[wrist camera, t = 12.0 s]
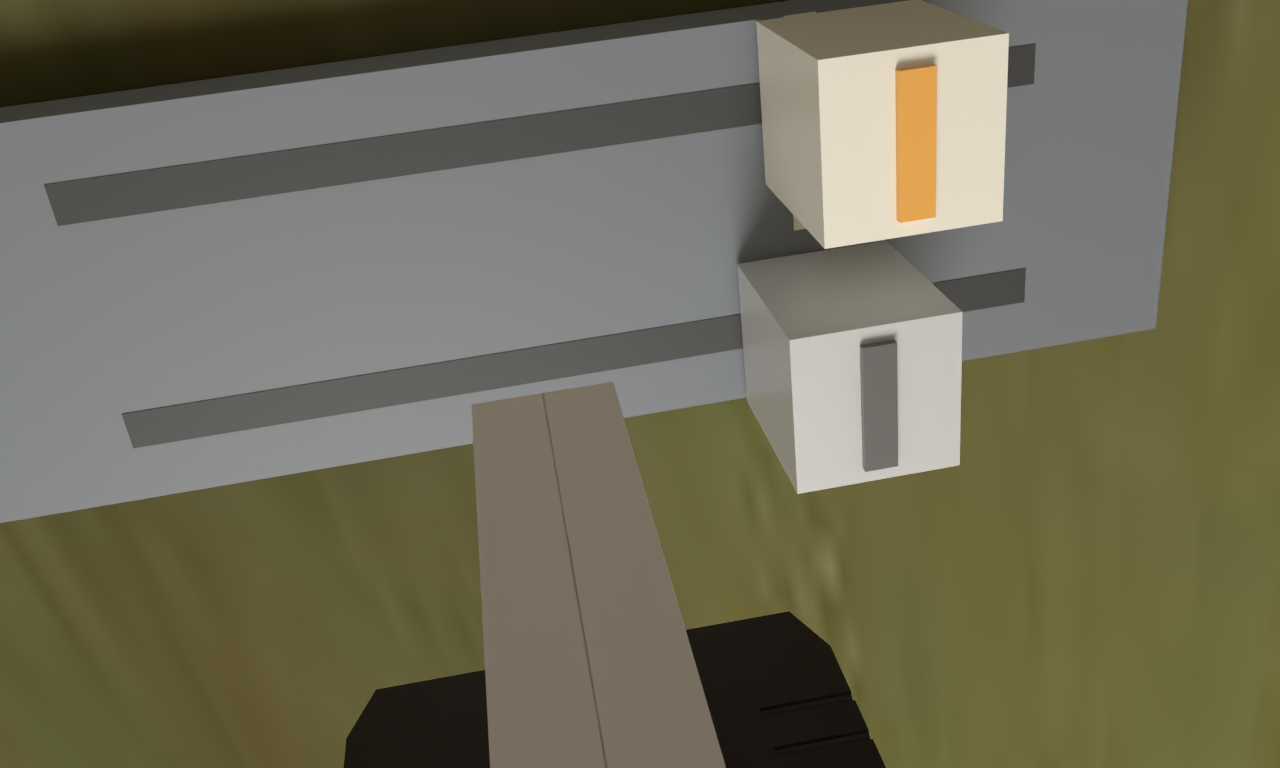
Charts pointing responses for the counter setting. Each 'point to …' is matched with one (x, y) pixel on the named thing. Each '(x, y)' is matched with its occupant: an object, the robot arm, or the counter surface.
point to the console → (501, 239)
